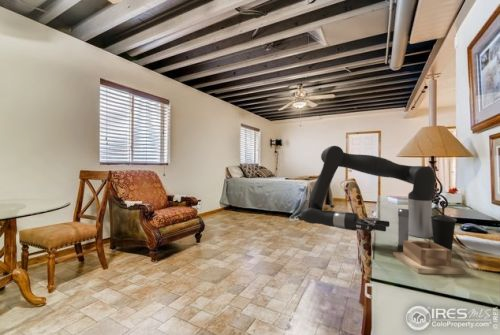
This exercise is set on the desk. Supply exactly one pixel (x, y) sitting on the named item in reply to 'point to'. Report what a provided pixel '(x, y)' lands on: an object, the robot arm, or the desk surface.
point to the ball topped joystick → (402, 227)
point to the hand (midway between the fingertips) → (387, 226)
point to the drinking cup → (443, 229)
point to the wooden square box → (427, 258)
